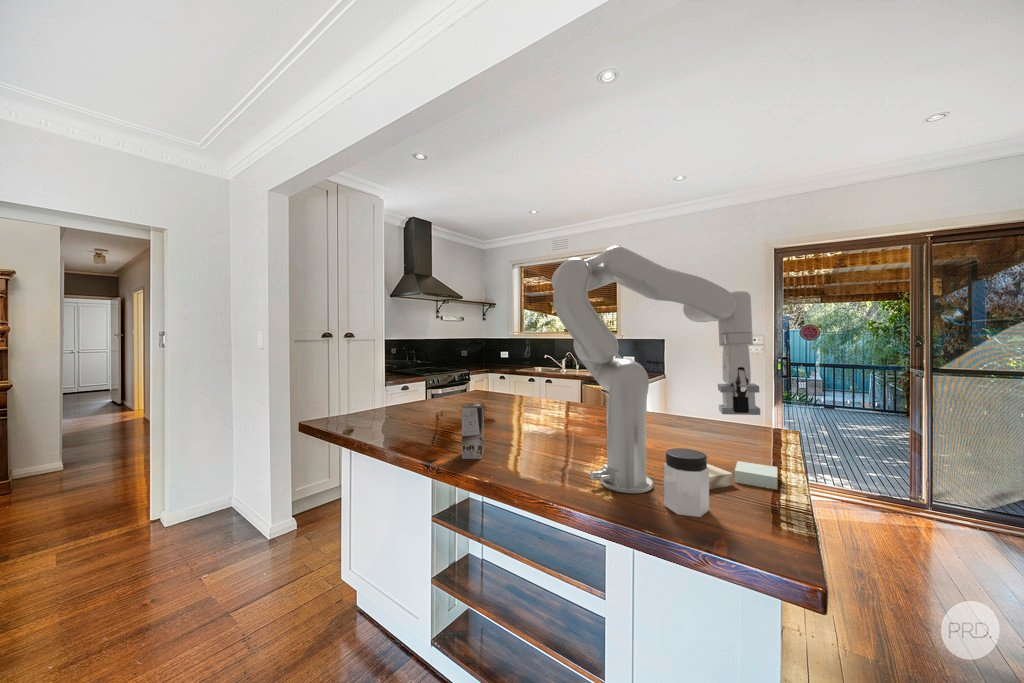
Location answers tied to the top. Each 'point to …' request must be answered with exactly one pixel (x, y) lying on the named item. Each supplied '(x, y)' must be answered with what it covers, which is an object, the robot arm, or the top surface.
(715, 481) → the stand
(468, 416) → the coffee box
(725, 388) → the housing
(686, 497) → the jar
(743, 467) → the stand
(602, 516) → the top surface
